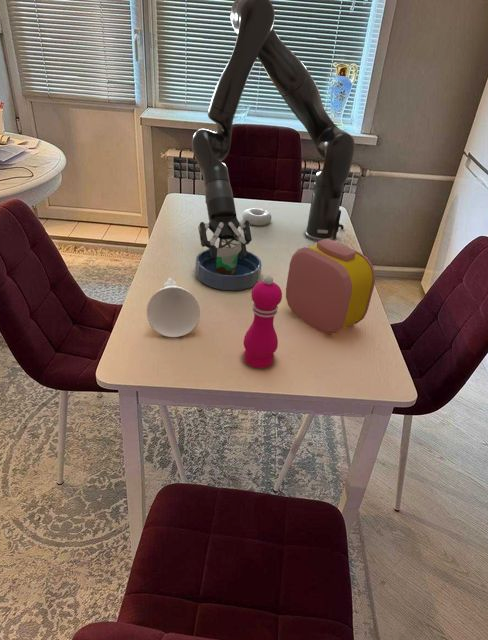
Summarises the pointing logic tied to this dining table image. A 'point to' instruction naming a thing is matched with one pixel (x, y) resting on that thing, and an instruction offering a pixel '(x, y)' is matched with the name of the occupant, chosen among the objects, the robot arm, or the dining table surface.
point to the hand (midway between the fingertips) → (229, 259)
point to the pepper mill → (262, 324)
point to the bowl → (243, 277)
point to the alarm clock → (329, 285)
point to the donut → (257, 216)
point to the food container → (228, 255)
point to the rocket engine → (173, 310)
